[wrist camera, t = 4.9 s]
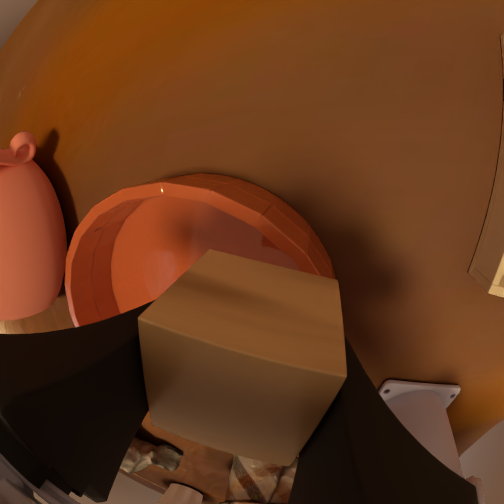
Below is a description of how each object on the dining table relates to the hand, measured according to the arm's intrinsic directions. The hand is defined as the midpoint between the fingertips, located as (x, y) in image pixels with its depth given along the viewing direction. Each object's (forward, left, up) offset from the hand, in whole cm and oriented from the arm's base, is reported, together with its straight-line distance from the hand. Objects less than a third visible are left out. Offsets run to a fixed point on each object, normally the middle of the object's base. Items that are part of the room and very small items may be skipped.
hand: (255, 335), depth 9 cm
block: (0, 0, -1) cm, 1 cm away
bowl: (-5, +4, -8) cm, 10 cm away
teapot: (-4, +24, -8) cm, 26 cm away
